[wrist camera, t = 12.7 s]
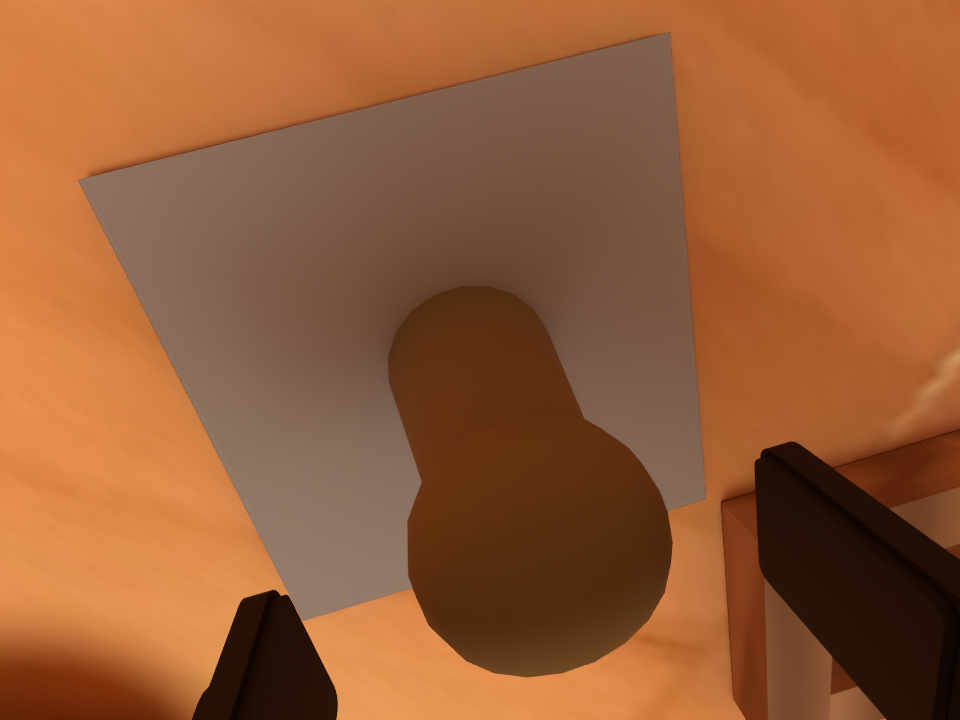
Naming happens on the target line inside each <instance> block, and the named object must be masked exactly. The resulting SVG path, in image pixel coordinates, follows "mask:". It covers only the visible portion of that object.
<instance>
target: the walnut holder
mask: <svg viewBox="0 0 960 720" xmlns="http://www.w3.org/2000/svg"><path fill="white" fill-rule="evenodd" d="M833 469H835V470H836V471H837V472H839V473H840V474H842V475H843V476H844V477H846V478H847V479H848V480H850V481H851V482H853V483H854V484H855V485H857V486H858V487H860V488H861V489H862V490H864V491H865V492H867V493H868V494H869V495H871V496H872V497H873V498H875V499H876V500H878V501H879V502H880V503H882V504H883V505H885V506H886V507H887V508H889V509H890V510H892V511H893V512H894V513H896V514H897V515H899V516H900V517H901V518H903V519H904V520H905V521H907V522H908V523H910V524H911V525H912V526H914V527H915V528H917V529H918V530H919V531H921V532H922V533H924V534H925V535H926V536H928V537H929V538H930V539H932V540H933V541H935V542H936V543H937V544H939V545H940V546H942V547H943V548H944V549H946V550H947V551H949V552H950V553H951V554H953V555H954V556H956V557H957V558H958V559H960V430H958V431H955V432H952V433H948V434H945V435H942V436H938V437H935V438H932V439H929V440H925V441H922V442H919V443H915V444H912V445H909V446H905V447H902V448H899V449H896V450H892V451H889V452H886V453H882V454H879V455H876V456H872V457H869V458H866V459H863V460H859V461H856V462H853V463H849V464H846V465H843V466H839V467H836V468H833ZM721 508H722V523H723V539H724V554H725V570H726V585H727V601H728V616H729V632H730V648H731V663H732V679H733V694H734V701H735V703H736V704H737V706H738V707H739V709H740V711H741V712H742V714H743V715H744V717H745V719H746V720H880V719H883V718H885V717H884V716H883V715H882V714H881V713H880V712H879V710H878V709H877V708H876V707H875V706H874V705H873V703H872V702H871V701H870V700H869V699H868V698H867V696H866V695H865V694H864V693H863V692H862V691H861V689H860V688H859V687H858V686H857V685H856V684H855V683H854V681H853V680H852V679H851V678H850V677H849V676H848V674H847V673H846V672H845V671H844V670H843V669H842V667H841V666H840V665H839V664H838V663H837V662H836V661H835V659H834V658H833V657H832V656H831V655H830V654H829V652H828V651H827V650H826V649H825V648H824V647H823V645H822V644H821V643H820V642H819V641H818V640H817V638H816V637H815V636H814V635H813V634H812V633H811V632H810V630H809V629H808V628H807V627H806V626H805V625H804V623H803V622H802V621H801V620H800V619H799V618H798V616H797V615H796V614H795V613H794V612H793V611H792V609H791V608H790V607H789V606H788V605H787V604H786V603H785V601H784V600H783V599H782V598H781V597H780V596H779V594H778V593H777V592H776V591H775V590H774V589H773V587H772V586H771V585H770V584H769V583H768V582H767V580H766V579H765V577H764V575H763V574H762V571H761V569H760V566H759V559H758V536H757V513H756V492H754V493H750V494H747V495H744V496H740V497H737V498H734V499H731V500H727V501H724V502H721Z"/></svg>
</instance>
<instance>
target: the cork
mask: <svg viewBox="0 0 960 720" xmlns="http://www.w3.org/2000/svg"><path fill="white" fill-rule="evenodd" d="M388 372H389V384H390V387H391V390H392V393H393V396H394V399H395V402H396V405H397V408H398V411H399V414H400V417H401V420H402V424H403V427H404V430H405V433H406V436H407V439H408V442H409V445H410V448H411V451H412V454H413V457H414V460H415V463H416V466H417V469H418V472H419V475H420V478H421V482H422V483H421V485H420V488H419V490H418V493H417V496H416V498H415V501H414V504H413V507H412V509H411V512H410V515H409V518H408V521H407V541H408V577H409V580H410V582H411V585H412V588H413V590H414V593H415V595H416V598H417V600H418V602H419V604H420V607H421V609H422V611H423V613H424V616H425V618H426V620H427V622H428V625H429V626H430V627H431V628H432V629H433V630H434V631H435V632H436V633H437V634H438V635H439V636H440V637H441V638H442V639H443V640H444V641H445V642H447V643H448V644H449V645H450V646H451V647H452V648H453V649H454V650H455V651H456V652H457V653H458V654H459V655H460V656H461V657H462V658H464V659H465V660H466V661H468V662H470V663H472V664H475V665H477V666H479V667H481V668H484V669H486V670H488V671H491V672H493V673H497V674H505V675H513V676H521V677H534V676H543V675H551V674H560V673H564V672H567V671H570V670H573V669H575V668H578V667H581V666H584V665H587V664H590V663H593V662H595V661H597V660H599V659H600V658H602V657H603V656H605V655H607V654H608V653H610V652H612V651H613V650H615V649H616V648H618V647H620V646H621V645H623V644H625V643H626V642H627V641H628V640H629V639H630V638H631V637H632V636H633V635H634V634H635V633H636V632H637V631H638V630H639V629H640V628H641V627H642V626H643V625H644V624H645V623H646V622H647V621H648V620H649V618H650V617H651V615H652V613H653V611H654V610H655V608H656V606H657V605H658V603H659V601H660V599H661V598H662V596H663V594H664V593H665V588H666V583H667V579H668V574H669V569H670V565H671V556H672V544H673V542H672V536H671V530H670V524H669V518H668V512H667V509H666V506H665V504H664V501H663V498H662V495H661V492H660V490H659V489H658V487H657V486H656V484H655V483H654V481H653V479H652V478H651V476H650V475H649V473H648V472H647V470H646V469H645V467H644V465H643V464H642V463H641V461H640V460H639V459H638V458H637V457H636V456H635V454H634V453H633V452H632V451H631V450H630V448H629V447H627V446H626V445H624V444H623V443H621V442H620V441H619V440H617V439H616V438H614V437H613V436H611V435H610V434H609V433H607V432H606V431H604V430H603V429H602V428H600V427H598V426H596V425H595V424H593V423H591V422H589V421H587V420H585V419H584V416H583V414H582V411H581V409H580V407H579V404H578V402H577V400H576V397H575V395H574V392H573V390H572V388H571V385H570V383H569V381H568V378H567V376H566V374H565V371H564V369H563V366H562V364H561V362H560V359H559V357H558V355H557V352H556V350H555V347H554V345H553V343H552V340H551V338H550V336H549V333H548V331H547V329H546V328H545V326H544V325H543V323H542V322H541V320H540V318H539V317H538V315H537V314H536V312H535V311H534V310H533V309H532V308H531V307H529V306H528V305H527V304H525V303H524V302H523V301H521V300H520V299H519V298H517V297H516V296H515V295H513V294H510V293H507V292H504V291H501V290H498V289H495V288H492V287H489V286H461V287H458V288H455V289H451V290H448V291H445V292H442V293H439V294H436V295H434V296H432V297H431V298H429V299H428V300H427V301H425V302H424V303H422V304H421V305H420V306H418V307H417V308H415V309H414V310H412V312H411V313H410V314H409V316H408V317H407V318H406V320H405V321H404V322H403V324H402V325H401V326H400V328H399V329H398V330H397V332H396V334H395V337H394V340H393V343H392V346H391V349H390V352H389V356H388Z"/></svg>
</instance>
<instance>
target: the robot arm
mask: <svg viewBox="0 0 960 720" xmlns="http://www.w3.org/2000/svg"><path fill="white" fill-rule="evenodd" d="M755 489H756V513H757V536H758V559H759V566H760V569H761V571H762V574H763V575H764V577H765V579H766V580H767V582H768V583H769V584H770V585H771V586H772V587H773V589H774V590H775V591H776V592H777V593H778V594H779V596H780V597H781V598H782V599H783V600H784V601H785V603H786V604H787V605H788V606H789V607H790V608H791V609H792V611H793V612H794V613H795V614H796V615H797V616H798V618H799V619H800V620H801V621H802V622H803V623H804V625H805V626H806V627H807V628H808V629H809V630H810V632H811V633H812V634H813V635H814V636H815V637H816V638H817V640H818V641H819V642H820V643H821V644H822V645H823V647H824V648H825V649H826V650H827V651H828V652H829V654H830V655H831V656H832V657H833V658H834V659H835V661H836V662H837V663H838V664H839V665H840V666H841V667H842V669H843V670H844V671H845V672H846V673H847V674H848V676H849V677H850V678H851V679H852V680H853V681H854V683H855V684H856V685H857V686H858V687H859V688H860V689H861V691H862V692H863V693H864V694H865V695H866V696H867V698H868V699H869V700H870V701H871V702H872V703H873V705H874V706H875V707H876V708H877V709H878V710H879V712H880V713H881V714H882V715H883V716H884V717H885V718H886V720H960V559H958V558H957V557H956V556H954V555H953V554H951V553H950V552H949V551H947V550H946V549H944V548H943V547H942V546H940V545H939V544H937V543H936V542H935V541H933V540H932V539H930V538H929V537H928V536H926V535H925V534H924V533H922V532H921V531H919V530H918V529H917V528H915V527H914V526H912V525H911V524H910V523H908V522H907V521H905V520H904V519H903V518H901V517H900V516H899V515H897V514H896V513H894V512H893V511H892V510H890V509H889V508H887V507H886V506H885V505H883V504H882V503H880V502H879V501H878V500H876V499H875V498H873V497H872V496H871V495H869V494H868V493H867V492H865V491H864V490H862V489H861V488H860V487H858V486H857V485H855V484H854V483H853V482H851V481H850V480H848V479H847V478H846V477H844V476H843V475H842V474H840V473H839V472H837V471H836V470H835V469H833V468H832V467H830V466H829V465H828V464H826V463H825V462H823V461H822V460H821V459H819V458H818V457H816V456H815V455H814V454H812V453H811V452H810V451H808V450H807V449H805V448H804V447H803V446H801V445H800V444H798V443H796V442H788V443H784V444H781V445H777V446H774V447H770V448H767V449H764V450H762V452H761V457H760V459H757V460H756V461H755ZM337 709H338V701H337V694H336V690H335V687H334V685H333V683H332V681H331V679H330V677H329V675H328V673H327V671H326V669H325V667H324V665H323V663H322V661H321V659H320V657H319V655H318V653H317V651H316V649H315V647H314V645H313V643H312V641H311V639H310V637H309V635H308V633H307V631H306V629H305V627H304V625H303V623H302V621H301V619H300V617H299V615H298V613H297V611H296V609H295V607H294V605H293V603H292V601H291V599H290V598H289V596H287V595H283V596H280V594H279V593H278V592H277V591H276V590H271V591H268V592H264V593H261V594H257V595H254V596H250V597H247V598H244V599H243V600H242V601H241V603H240V604H239V607H238V609H237V612H236V615H235V618H234V620H233V623H232V626H231V628H230V631H229V634H228V637H227V639H226V642H225V645H224V647H223V650H222V653H221V656H220V658H219V661H218V664H217V666H216V669H215V672H214V675H213V677H212V680H211V683H210V685H209V687H208V688H207V689H206V690H205V691H204V692H203V694H202V696H201V698H200V700H199V702H198V704H197V707H196V710H195V712H194V715H193V718H192V720H336V718H337Z"/></svg>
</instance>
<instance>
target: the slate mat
mask: <svg viewBox="0 0 960 720" xmlns="http://www.w3.org/2000/svg"><path fill="white" fill-rule="evenodd" d="M78 181H79V183H80V185H81V187H82V189H83V191H84V193H85V195H86V197H87V199H88V201H89V203H90V205H91V207H92V209H93V211H94V213H95V215H96V217H97V219H98V221H99V222H100V224H101V226H102V228H103V230H104V232H105V234H106V236H107V238H108V240H109V242H110V244H111V246H112V248H113V250H114V252H115V254H116V256H117V258H118V260H119V262H120V264H121V266H122V268H123V270H124V271H125V273H126V275H127V277H128V279H129V281H130V283H131V285H132V287H133V289H134V291H135V293H136V295H137V297H138V299H139V301H140V303H141V305H142V307H143V309H144V311H145V313H146V315H147V317H148V319H149V321H150V322H151V324H152V326H153V328H154V330H155V332H156V334H157V336H158V338H159V340H160V342H161V344H162V346H163V348H164V350H165V352H166V354H167V356H168V358H169V360H170V362H171V364H172V366H173V368H174V370H175V371H176V373H177V375H178V377H179V379H180V381H181V383H182V385H183V387H184V389H185V391H186V393H187V395H188V397H189V399H190V401H191V403H192V405H193V407H194V409H195V411H196V413H197V415H198V417H199V419H200V421H201V422H202V424H203V426H204V428H205V430H206V432H207V434H208V436H209V438H210V440H211V442H212V444H213V446H214V448H215V450H216V452H217V454H218V456H219V458H220V460H221V462H222V464H223V466H224V468H225V470H226V471H227V473H228V475H229V477H230V479H231V481H232V483H233V485H234V487H235V489H236V491H237V493H238V495H239V497H240V499H241V501H242V503H243V505H244V507H245V509H246V511H247V513H248V515H249V517H250V519H251V521H252V522H253V524H254V526H255V528H256V530H257V532H258V534H259V536H260V538H261V540H262V542H263V544H264V546H265V548H266V550H267V552H268V554H269V556H270V558H271V560H272V562H273V564H274V566H275V568H276V570H277V571H278V573H279V575H280V577H281V579H282V581H283V583H284V585H285V587H286V589H287V591H288V593H289V595H290V597H291V599H292V601H293V603H294V605H295V607H296V609H297V611H298V613H299V615H300V617H301V619H302V621H305V620H308V619H311V618H315V617H318V616H321V615H325V614H328V613H331V612H334V611H338V610H341V609H344V608H348V607H351V606H354V605H358V604H361V603H364V602H368V601H371V600H374V599H377V598H381V597H384V596H387V595H391V594H394V593H397V592H401V591H404V590H407V589H411V588H412V585H411V582H410V580H409V577H408V541H407V521H408V518H409V515H410V512H411V509H412V507H413V504H414V501H415V498H416V496H417V493H418V490H419V488H420V485H421V483H422V482H421V478H420V475H419V472H418V469H417V466H416V463H415V460H414V457H413V454H412V451H411V448H410V445H409V442H408V439H407V436H406V433H405V430H404V427H403V424H402V420H401V417H400V414H399V411H398V408H397V405H396V402H395V399H394V396H393V393H392V390H391V387H390V384H389V372H388V356H389V352H390V349H391V346H392V343H393V340H394V337H395V334H396V332H397V330H398V329H399V328H400V326H401V325H402V324H403V322H404V321H405V320H406V318H407V317H408V316H409V314H410V313H411V312H412V310H414V309H415V308H417V307H418V306H420V305H421V304H422V303H424V302H425V301H427V300H428V299H429V298H431V297H432V296H434V295H436V294H439V293H442V292H445V291H448V290H451V289H455V288H458V287H461V286H489V287H492V288H495V289H498V290H501V291H504V292H507V293H510V294H513V295H515V296H516V297H517V298H519V299H520V300H521V301H523V302H524V303H525V304H527V305H528V306H529V307H531V308H532V309H533V310H534V311H535V312H536V314H537V315H538V317H539V318H540V320H541V322H542V323H543V325H544V326H545V328H546V329H547V331H548V333H549V336H550V338H551V340H552V343H553V345H554V347H555V350H556V352H557V355H558V357H559V359H560V362H561V364H562V366H563V369H564V371H565V374H566V376H567V378H568V381H569V383H570V385H571V388H572V390H573V392H574V395H575V397H576V400H577V402H578V404H579V407H580V409H581V411H582V414H583V416H584V419H585V420H587V421H589V422H591V423H593V424H595V425H596V426H598V427H600V428H602V429H603V430H604V431H606V432H607V433H609V434H610V435H611V436H613V437H614V438H616V439H617V440H619V441H620V442H621V443H623V444H624V445H626V446H627V447H629V448H630V450H631V451H632V452H633V453H634V454H635V456H636V457H637V458H638V459H639V460H640V461H641V463H642V464H643V465H644V467H645V469H646V470H647V472H648V473H649V475H650V476H651V478H652V479H653V481H654V483H655V484H656V486H657V487H658V489H659V490H660V492H661V495H662V498H663V501H664V504H665V506H666V509H667V511H669V510H672V509H675V508H679V507H682V506H685V505H689V504H692V503H695V502H699V501H702V500H705V499H706V487H705V474H704V462H703V449H702V436H701V423H700V410H699V397H698V384H697V372H696V359H695V346H694V333H693V320H692V307H691V295H690V282H689V269H688V256H687V243H686V230H685V217H684V205H683V192H682V179H681V166H680V153H679V140H678V128H677V115H676V102H675V89H674V76H673V63H672V50H671V38H670V32H669V33H665V34H661V35H657V36H653V37H649V38H645V39H641V40H636V41H632V42H628V43H624V44H620V45H616V46H612V47H608V48H604V49H600V50H596V51H592V52H588V53H584V54H580V55H576V56H572V57H568V58H564V59H560V60H556V61H552V62H548V63H544V64H540V65H536V66H532V67H528V68H524V69H520V70H516V71H512V72H508V73H504V74H500V75H496V76H492V77H488V78H484V79H480V80H476V81H472V82H468V83H464V84H460V85H456V86H452V87H448V88H444V89H440V90H436V91H432V92H428V93H424V94H420V95H416V96H412V97H408V98H404V99H400V100H396V101H392V102H388V103H384V104H380V105H376V106H372V107H368V108H364V109H360V110H356V111H352V112H348V113H344V114H340V115H336V116H332V117H328V118H324V119H320V120H316V121H312V122H308V123H304V124H300V125H296V126H292V127H288V128H284V129H280V130H276V131H272V132H268V133H264V134H260V135H256V136H252V137H248V138H244V139H240V140H236V141H232V142H228V143H224V144H220V145H216V146H212V147H208V148H204V149H200V150H196V151H192V152H188V153H184V154H180V155H176V156H172V157H168V158H164V159H160V160H156V161H152V162H147V163H143V164H139V165H135V166H131V167H127V168H123V169H119V170H115V171H111V172H107V173H103V174H99V175H95V176H91V177H87V178H83V179H79V180H78Z"/></svg>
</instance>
